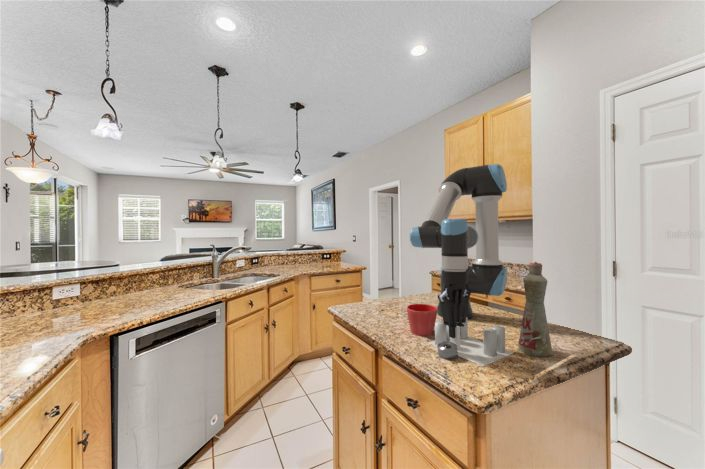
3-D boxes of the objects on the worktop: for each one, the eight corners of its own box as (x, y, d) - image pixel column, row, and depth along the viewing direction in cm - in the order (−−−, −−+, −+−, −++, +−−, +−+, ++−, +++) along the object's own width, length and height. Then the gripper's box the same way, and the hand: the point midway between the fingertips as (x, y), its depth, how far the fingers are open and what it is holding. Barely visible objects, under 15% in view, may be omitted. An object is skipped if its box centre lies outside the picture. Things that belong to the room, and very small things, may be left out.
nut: (445, 349, 88) (444, 339, 88) (462, 355, 84) (460, 345, 84) (434, 356, 85) (433, 347, 85) (451, 363, 81) (450, 353, 80)
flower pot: (439, 340, 98) (438, 312, 98) (406, 338, 100) (406, 310, 100) (436, 329, 108) (436, 304, 108) (407, 328, 111) (406, 303, 110)
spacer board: (458, 334, 103) (458, 313, 103) (514, 354, 86) (514, 329, 86) (427, 344, 94) (427, 321, 94) (483, 368, 77) (482, 340, 77)
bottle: (557, 361, 81) (556, 263, 81) (521, 357, 84) (520, 262, 84) (548, 349, 89) (547, 260, 89) (515, 345, 92) (514, 259, 92)
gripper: (457, 267, 93) (458, 339, 93) (430, 270, 86) (430, 348, 86) (478, 269, 87) (479, 346, 87) (450, 273, 80) (451, 357, 80)
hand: (455, 347), depth 86 cm, fingers closed
